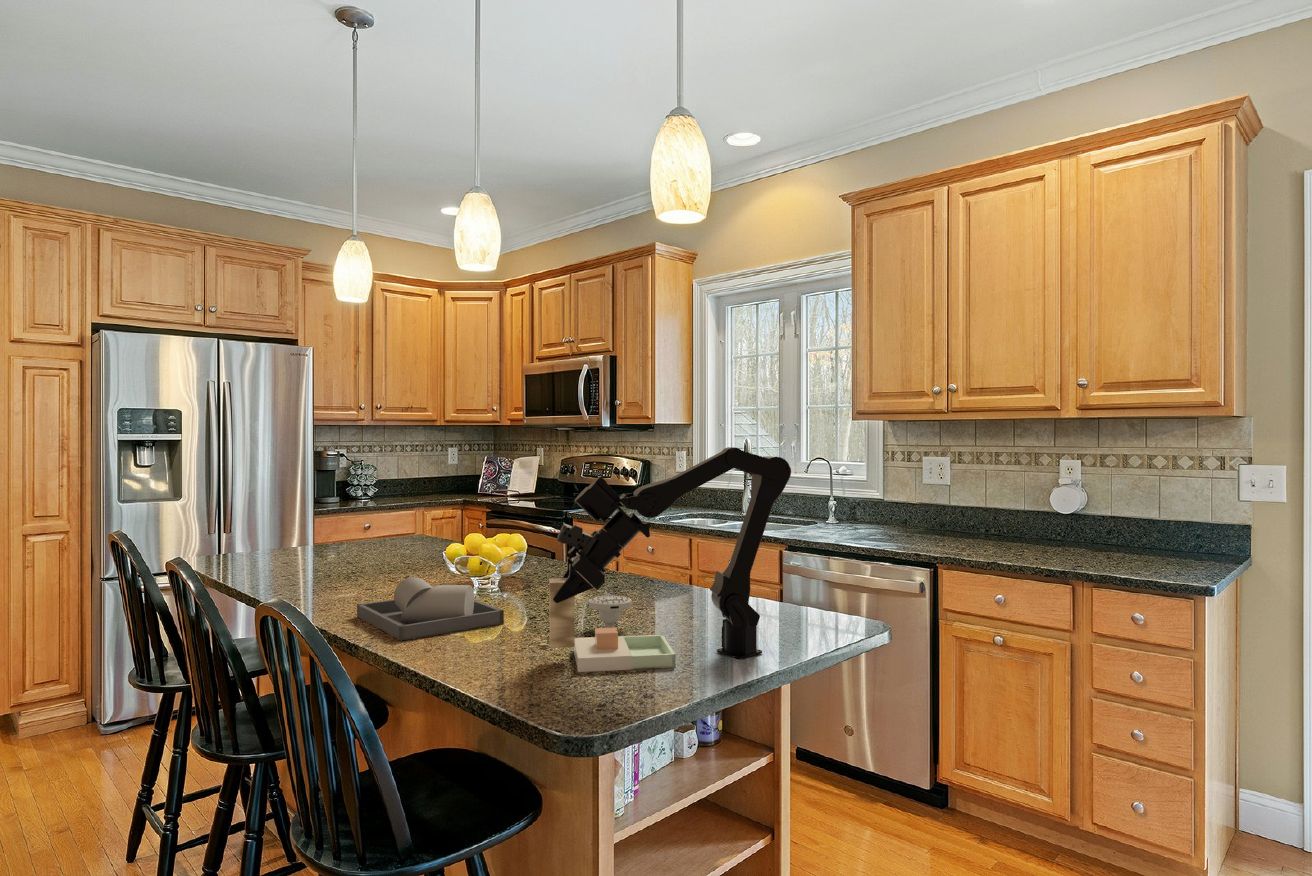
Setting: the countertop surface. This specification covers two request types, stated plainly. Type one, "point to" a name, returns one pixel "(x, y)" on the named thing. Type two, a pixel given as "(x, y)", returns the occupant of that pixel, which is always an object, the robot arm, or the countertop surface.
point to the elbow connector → (432, 600)
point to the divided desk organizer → (389, 616)
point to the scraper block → (561, 617)
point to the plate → (601, 656)
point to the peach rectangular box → (606, 638)
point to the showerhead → (610, 607)
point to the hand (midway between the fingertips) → (554, 598)
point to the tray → (650, 652)
